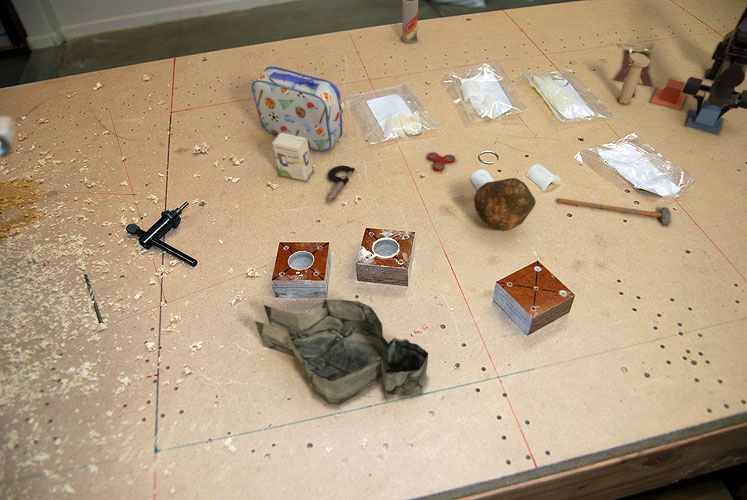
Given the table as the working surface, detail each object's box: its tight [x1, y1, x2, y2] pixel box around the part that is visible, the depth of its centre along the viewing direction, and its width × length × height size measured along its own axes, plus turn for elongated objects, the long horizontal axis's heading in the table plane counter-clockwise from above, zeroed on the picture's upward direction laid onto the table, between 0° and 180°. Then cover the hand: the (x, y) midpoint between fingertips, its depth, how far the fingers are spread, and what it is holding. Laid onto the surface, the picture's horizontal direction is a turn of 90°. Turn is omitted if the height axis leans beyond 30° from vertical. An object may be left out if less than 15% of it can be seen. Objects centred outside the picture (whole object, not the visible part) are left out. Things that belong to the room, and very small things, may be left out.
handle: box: [618, 53, 651, 105], centre depth 164 cm, size 5×6×15 cm
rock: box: [473, 177, 537, 232], centre depth 129 cm, size 13×13×15 cm
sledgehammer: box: [558, 198, 672, 226], centre depth 136 cm, size 27×2×5 cm
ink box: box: [271, 133, 313, 181], centre depth 146 cm, size 9×5×12 cm, turn 70°
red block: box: [659, 78, 686, 104], centre depth 167 cm, size 5×5×5 cm
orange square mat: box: [650, 87, 687, 110], centre depth 169 cm, size 9×9×1 cm
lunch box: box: [251, 66, 346, 153], centre depth 153 cm, size 28×10×22 cm, turn 65°
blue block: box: [695, 99, 723, 127], centre depth 158 cm, size 5×5×5 cm
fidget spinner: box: [427, 151, 456, 172], centre depth 151 cm, size 8×7×1 cm
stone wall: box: [254, 298, 429, 406], centre depth 105 cm, size 35×19×10 cm, turn 71°
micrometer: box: [326, 165, 356, 203], centre depth 146 cm, size 15×7×2 cm, turn 154°
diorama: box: [613, 39, 655, 97], centre depth 180 cm, size 12×35×5 cm, turn 159°
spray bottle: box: [401, 0, 419, 44], centre depth 194 cm, size 6×6×20 cm
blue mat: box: [685, 109, 724, 135], centre depth 161 cm, size 9×9×1 cm
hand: (706, 117), depth 160 cm, fingers closed on blue block, 5 cm apart
